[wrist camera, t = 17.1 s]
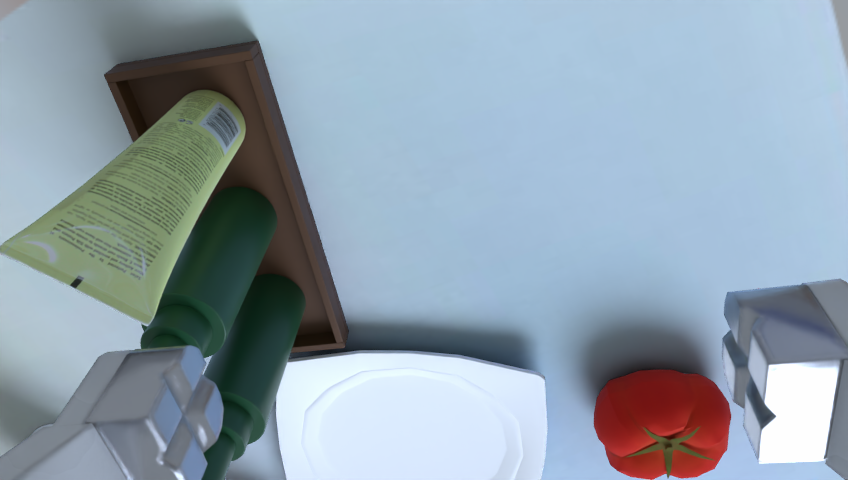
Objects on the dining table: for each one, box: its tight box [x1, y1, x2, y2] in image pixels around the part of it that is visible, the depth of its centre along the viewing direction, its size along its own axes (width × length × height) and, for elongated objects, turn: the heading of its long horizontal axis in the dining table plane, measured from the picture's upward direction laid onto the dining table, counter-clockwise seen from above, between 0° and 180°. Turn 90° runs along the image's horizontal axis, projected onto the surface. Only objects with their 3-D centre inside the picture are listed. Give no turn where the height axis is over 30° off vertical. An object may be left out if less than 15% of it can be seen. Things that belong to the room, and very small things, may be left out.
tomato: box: [594, 370, 731, 480], centre depth 59 cm, size 10×11×6 cm
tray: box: [104, 41, 349, 353], centre depth 53 cm, size 25×10×2 cm, turn 10°
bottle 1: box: [141, 187, 277, 358], centre depth 45 cm, size 5×5×19 cm
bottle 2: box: [201, 274, 306, 480], centre depth 50 cm, size 5×5×19 cm
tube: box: [0, 90, 246, 326], centre depth 41 cm, size 6×5×20 cm
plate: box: [276, 350, 547, 480], centre depth 65 cm, size 24×24×3 cm
